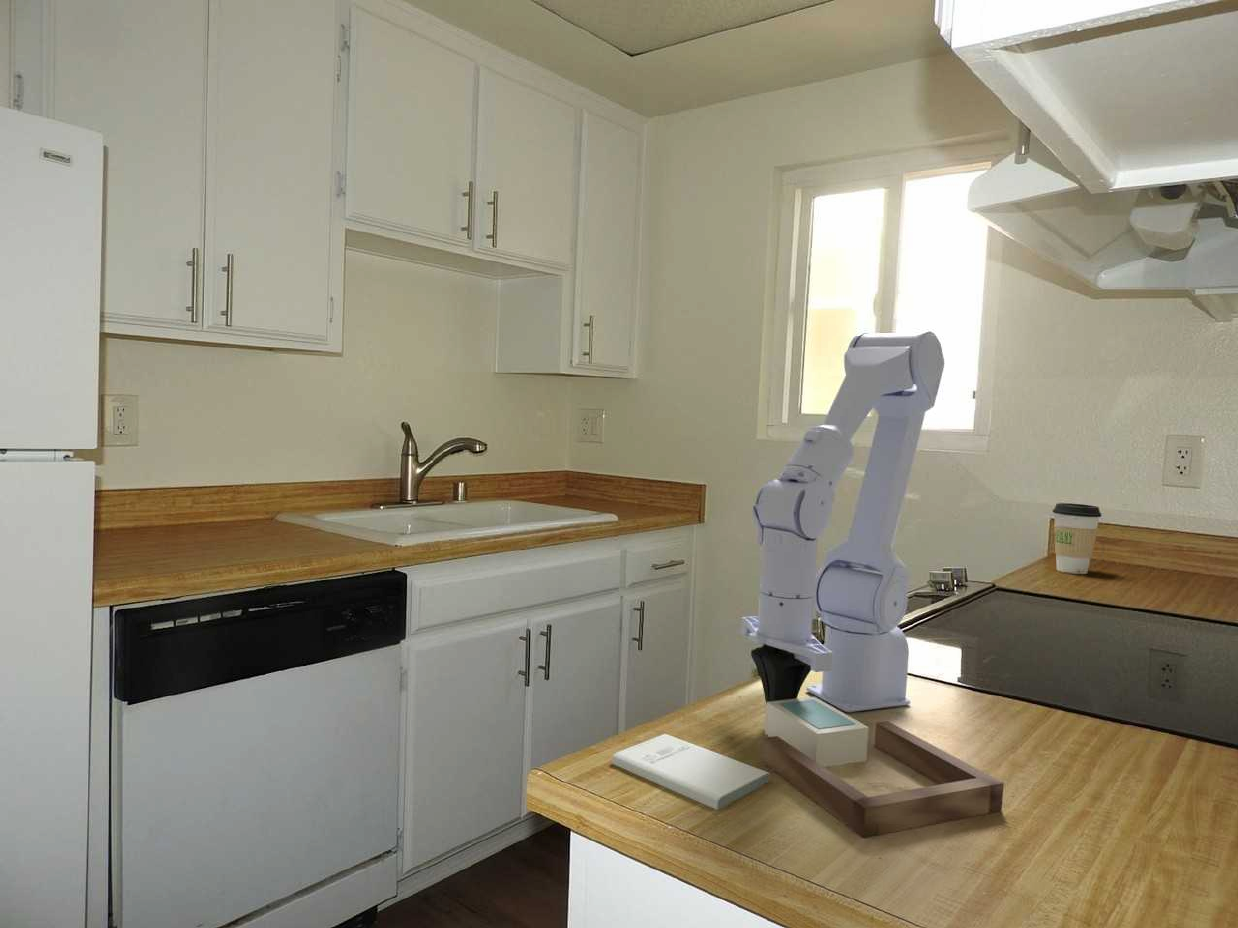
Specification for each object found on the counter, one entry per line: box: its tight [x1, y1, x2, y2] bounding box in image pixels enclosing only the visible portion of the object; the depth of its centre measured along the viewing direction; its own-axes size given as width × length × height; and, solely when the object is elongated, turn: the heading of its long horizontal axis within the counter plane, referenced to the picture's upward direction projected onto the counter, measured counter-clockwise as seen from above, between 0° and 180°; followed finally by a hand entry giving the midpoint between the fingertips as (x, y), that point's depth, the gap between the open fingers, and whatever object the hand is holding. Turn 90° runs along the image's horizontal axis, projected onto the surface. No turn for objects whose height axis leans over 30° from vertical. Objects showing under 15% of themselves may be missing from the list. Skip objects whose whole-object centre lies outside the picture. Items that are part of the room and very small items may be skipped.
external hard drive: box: [611, 733, 771, 811], centre depth 81 cm, size 2×8×12 cm
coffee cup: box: [1052, 502, 1102, 575], centre depth 195 cm, size 10×10×15 cm
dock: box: [762, 721, 1005, 839], centre depth 79 cm, size 15×15×2 cm
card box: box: [764, 696, 869, 768], centre depth 88 cm, size 6×9×4 cm, turn 23°
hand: (779, 716), depth 93 cm, fingers closed
